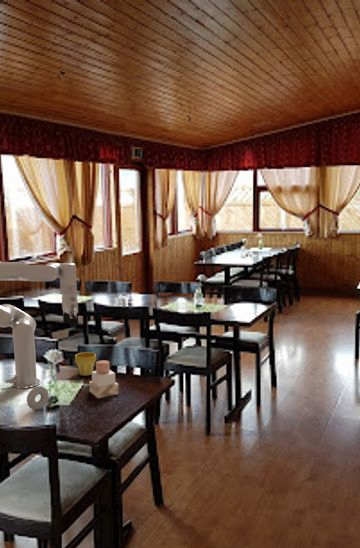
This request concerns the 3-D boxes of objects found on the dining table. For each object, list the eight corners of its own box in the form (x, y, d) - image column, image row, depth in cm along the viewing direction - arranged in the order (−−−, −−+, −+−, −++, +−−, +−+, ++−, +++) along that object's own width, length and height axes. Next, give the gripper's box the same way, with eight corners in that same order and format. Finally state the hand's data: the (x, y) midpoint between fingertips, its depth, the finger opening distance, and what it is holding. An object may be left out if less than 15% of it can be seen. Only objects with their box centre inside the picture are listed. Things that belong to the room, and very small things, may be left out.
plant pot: (75, 371, 281) (74, 352, 280) (96, 369, 283) (95, 351, 282) (75, 377, 271) (75, 358, 270) (96, 376, 273) (96, 357, 272)
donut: (29, 414, 226) (28, 390, 225) (25, 411, 229) (24, 388, 227) (51, 407, 233) (50, 384, 232) (46, 405, 236) (45, 382, 234)
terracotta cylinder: (99, 374, 245) (98, 364, 244) (94, 371, 250) (94, 361, 250) (111, 372, 248) (111, 362, 247) (106, 369, 253) (106, 359, 253)
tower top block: (98, 387, 244) (98, 376, 243) (92, 382, 251) (91, 371, 250) (115, 383, 248) (115, 373, 247) (108, 378, 255) (107, 368, 254)
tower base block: (98, 398, 243) (97, 388, 243) (89, 392, 252) (89, 381, 251) (118, 394, 249) (118, 383, 248) (109, 388, 257) (109, 377, 256)
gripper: (82, 291, 253) (84, 327, 256) (70, 285, 268) (71, 320, 271) (67, 292, 250) (68, 329, 252) (55, 287, 264) (56, 322, 267)
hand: (70, 324), depth 261 cm, fingers open, 9 cm apart
